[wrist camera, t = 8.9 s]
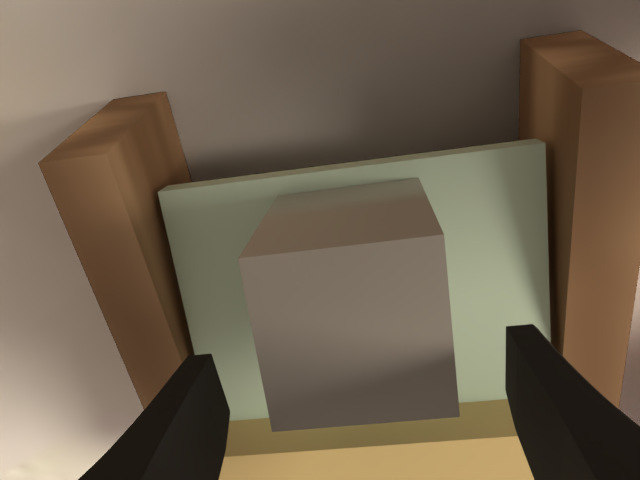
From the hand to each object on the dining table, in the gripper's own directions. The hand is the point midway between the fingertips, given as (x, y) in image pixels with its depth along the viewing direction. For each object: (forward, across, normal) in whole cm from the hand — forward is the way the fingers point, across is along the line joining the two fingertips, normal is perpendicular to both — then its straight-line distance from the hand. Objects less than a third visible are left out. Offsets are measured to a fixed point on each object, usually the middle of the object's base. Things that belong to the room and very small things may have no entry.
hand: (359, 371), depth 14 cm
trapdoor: (+6, 0, +3) cm, 6 cm away
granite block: (+5, 0, 0) cm, 5 cm away
